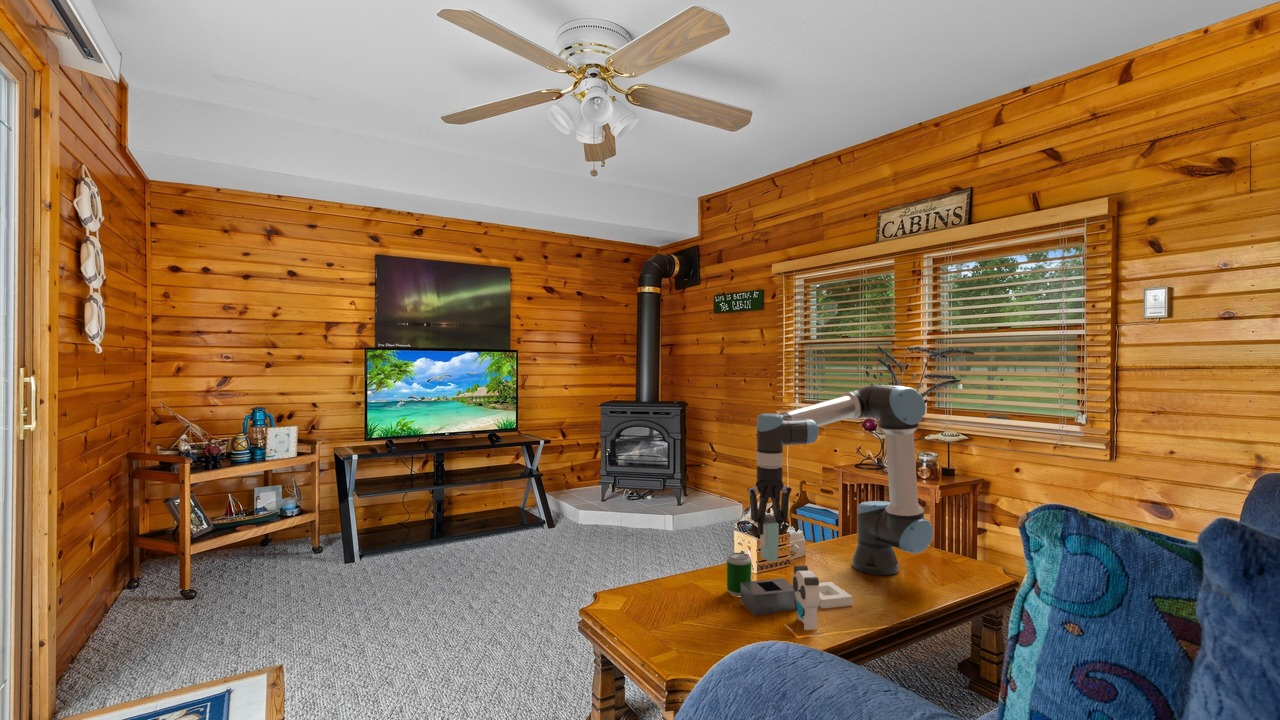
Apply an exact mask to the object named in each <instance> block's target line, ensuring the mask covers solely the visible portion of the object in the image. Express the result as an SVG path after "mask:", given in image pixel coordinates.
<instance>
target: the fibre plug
mask: <svg viewBox="0 0 1280 720" xmlns="http://www.w3.org/2000/svg"><path fill="white" fill-rule="evenodd" d="M764 523H765V524H766V547H764V546H762V545H761V544H760V556H761V558H763V559H764V560H766V562H774V561H775V562H777V561H779V560H778V559H779V539H778V523H777V522H776V517H774V514H770V513H765V519H764Z"/></svg>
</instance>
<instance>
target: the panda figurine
mask: <svg viewBox="0 0 1280 720" xmlns="http://www.w3.org/2000/svg"><path fill="white" fill-rule="evenodd" d="M793 574H794V576H793V578H792V586H793V589H794V591H795V596H796V600H795V608H796V610H795V611H796V621H801V622H802V624H803V630H804V631H808V630H809V631H812V630H813V631H814V630H818V608H819V607H820V606H819V583H820V580H819V577H817V576H816V574H815V573H814V572H813V571H812V570H809V568H808V565H794V566H793ZM785 625H786V626H785V627H787V628H788V629H789V631H792V632H794V630H793V629H792V628H791V627H790V626H789V625H787V623H786V624H785ZM823 634H825V632H820V633H819V632H818V633H811V634H808V636H819V635H823Z"/></svg>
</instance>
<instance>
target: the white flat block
mask: <svg viewBox="0 0 1280 720" xmlns="http://www.w3.org/2000/svg"><path fill="white" fill-rule="evenodd" d="M853 598H854V597H853V595H851V594H850V593H848V592H846V591H845V590H844V589H843V588H841V587H839V586H838V585H836V584H835V583H834V582H832V581H828V582H827V581H826V582H819V606H818V607H820V608H821V609H830V608H831V609H832V608H839V607H840V608H841V607H848V606H853V605H854V604H853V603H854V601H853Z"/></svg>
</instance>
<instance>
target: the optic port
mask: <svg viewBox="0 0 1280 720" xmlns="http://www.w3.org/2000/svg"><path fill="white" fill-rule="evenodd" d="M795 600H796V596H795V591H794V589H793V584H792V583H790V582H788V581H787V580H786V579H785V578H784V577H781V578H772V579H771V578H770V579H760V580H751V581H748V582H741V597H740V603H741V602H742V603H743V604H744V605H745V606H746V607H747V608H748V609H749V610H750V611H751V612H752V613H753V614H754V615H757V616H765V615H774V614H773V613H779V612H780V613H781V612H787V611H797V610H796V608H795ZM742 603H741V604H742ZM743 604H742V605H743ZM744 605H743V606H744ZM745 606H744V607H745ZM746 607H745V608H746ZM747 608H746V609H747ZM748 609H747V610H748ZM749 610H748V611H749ZM750 611H749V612H750ZM751 612H750V613H751ZM752 613H751V614H752ZM753 614H752V615H753ZM763 614H765V615H763ZM754 615H753V616H754Z"/></svg>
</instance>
